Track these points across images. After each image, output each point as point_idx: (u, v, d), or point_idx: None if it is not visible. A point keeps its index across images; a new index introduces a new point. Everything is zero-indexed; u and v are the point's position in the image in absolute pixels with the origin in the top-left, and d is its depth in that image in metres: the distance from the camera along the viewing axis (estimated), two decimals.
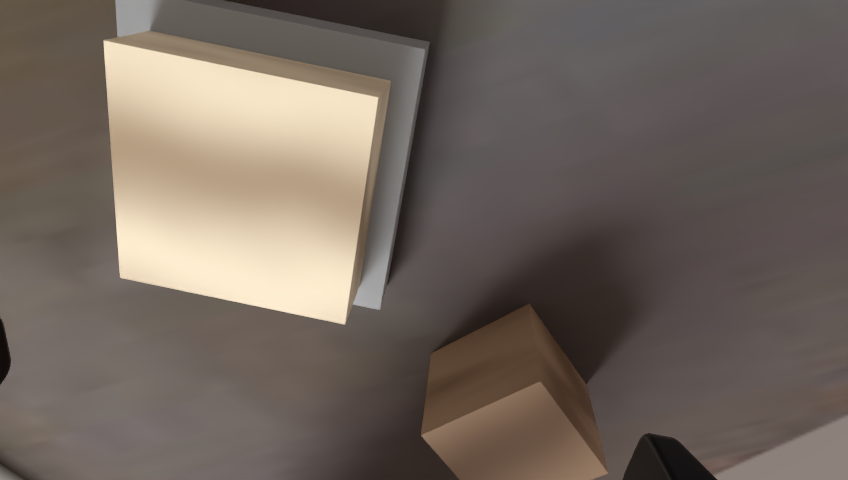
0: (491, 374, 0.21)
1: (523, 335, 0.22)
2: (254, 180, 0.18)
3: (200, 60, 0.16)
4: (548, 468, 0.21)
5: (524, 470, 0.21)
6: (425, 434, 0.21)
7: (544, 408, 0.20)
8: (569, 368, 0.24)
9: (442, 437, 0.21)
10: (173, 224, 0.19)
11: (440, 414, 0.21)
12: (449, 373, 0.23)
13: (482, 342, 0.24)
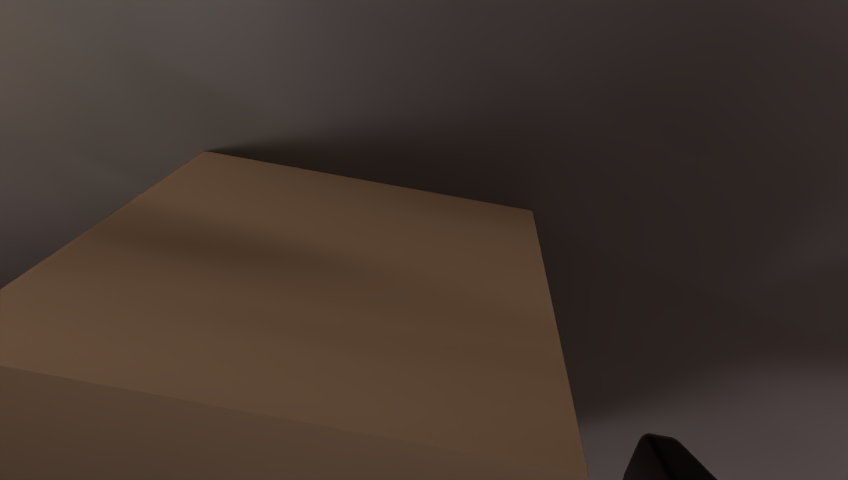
0: (364, 310, 0.06)
1: (510, 268, 0.07)
2: None
3: None
4: None
5: None
6: None
7: None
8: None
9: (6, 414, 0.04)
10: None
11: (76, 321, 0.05)
12: (218, 220, 0.07)
13: (368, 213, 0.08)
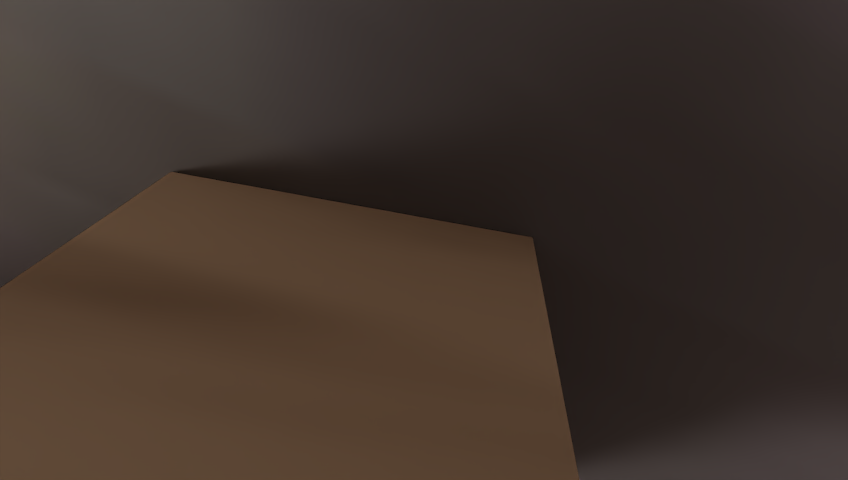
0: (334, 378, 0.05)
1: (508, 314, 0.06)
2: None
3: None
4: None
5: None
6: None
7: None
8: None
9: None
10: None
11: None
12: (172, 261, 0.06)
13: (348, 246, 0.07)
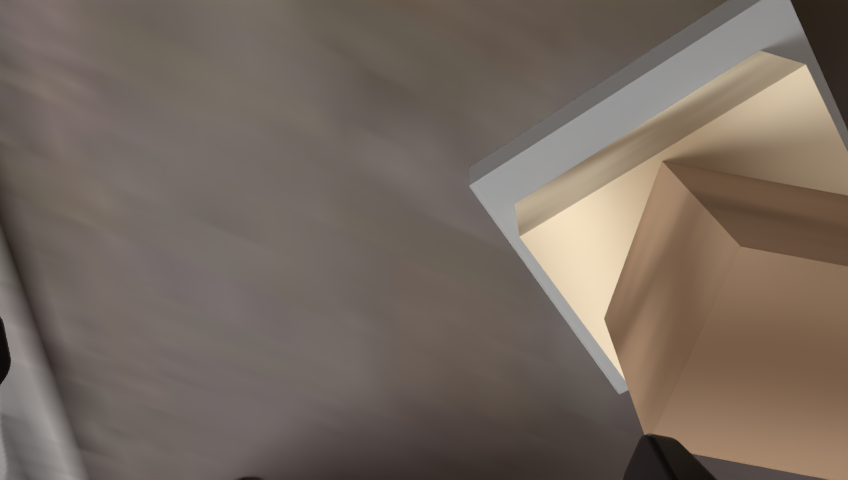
0: None
1: None
2: None
3: None
4: (819, 430, 0.12)
5: (787, 410, 0.12)
6: (749, 250, 0.10)
7: None
8: None
9: (763, 275, 0.11)
10: None
11: (769, 240, 0.11)
12: (737, 200, 0.13)
13: (787, 197, 0.14)
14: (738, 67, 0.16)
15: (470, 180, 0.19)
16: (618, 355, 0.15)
